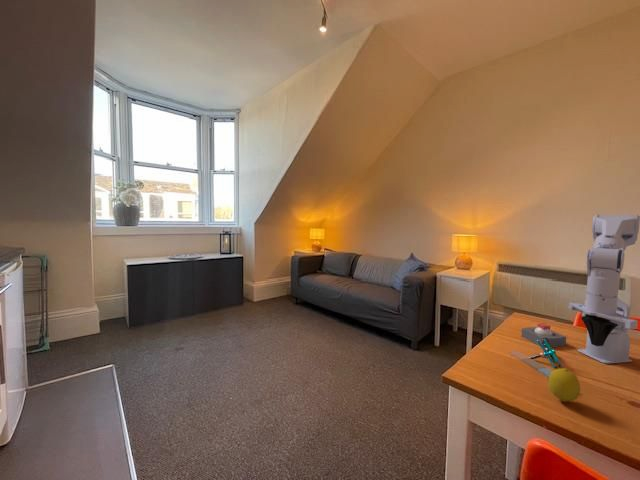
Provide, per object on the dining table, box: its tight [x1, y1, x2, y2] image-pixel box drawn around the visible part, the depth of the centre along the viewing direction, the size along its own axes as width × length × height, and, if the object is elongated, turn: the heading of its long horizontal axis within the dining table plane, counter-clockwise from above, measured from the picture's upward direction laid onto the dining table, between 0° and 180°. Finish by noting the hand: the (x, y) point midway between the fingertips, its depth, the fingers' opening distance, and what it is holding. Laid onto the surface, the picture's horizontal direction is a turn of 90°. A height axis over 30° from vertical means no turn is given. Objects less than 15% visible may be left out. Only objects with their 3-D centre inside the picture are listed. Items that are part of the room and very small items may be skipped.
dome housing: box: [521, 326, 567, 348], centre depth 97 cm, size 9×9×3 cm
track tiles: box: [508, 350, 553, 379], centre depth 81 cm, size 3×15×1 cm, turn 7°
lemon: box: [548, 367, 581, 403], centre depth 65 cm, size 6×6×8 cm
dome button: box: [534, 323, 553, 336], centre depth 96 cm, size 5×5×6 cm
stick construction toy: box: [528, 339, 563, 369], centre depth 84 cm, size 12×7×8 cm
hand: (597, 344), depth 73 cm, fingers closed
